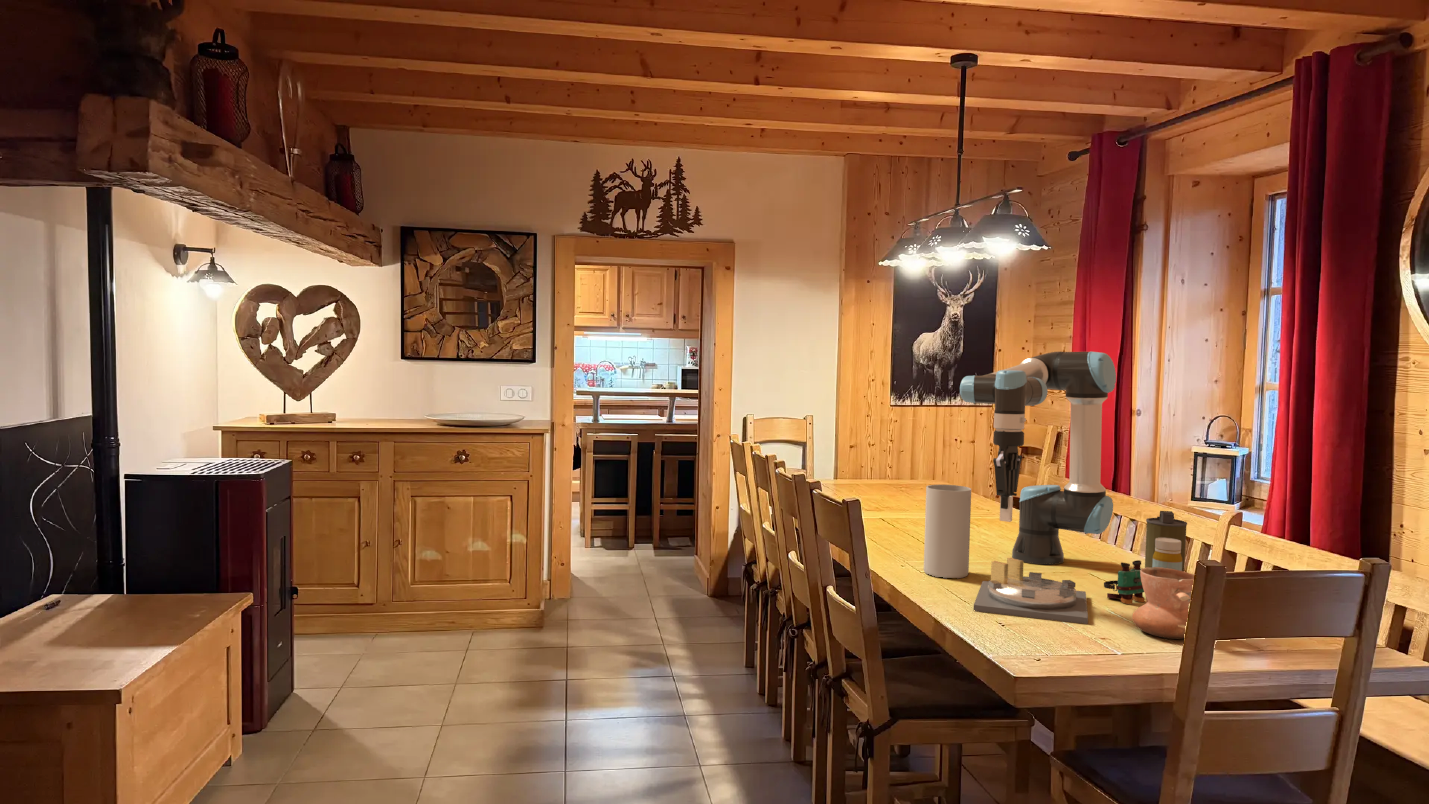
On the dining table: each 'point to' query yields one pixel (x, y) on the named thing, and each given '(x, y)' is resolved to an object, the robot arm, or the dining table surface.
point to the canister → (1164, 534)
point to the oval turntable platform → (1028, 588)
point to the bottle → (1167, 553)
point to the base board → (1067, 615)
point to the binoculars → (1127, 584)
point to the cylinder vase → (947, 531)
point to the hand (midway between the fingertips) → (1005, 520)
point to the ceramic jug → (1164, 602)
